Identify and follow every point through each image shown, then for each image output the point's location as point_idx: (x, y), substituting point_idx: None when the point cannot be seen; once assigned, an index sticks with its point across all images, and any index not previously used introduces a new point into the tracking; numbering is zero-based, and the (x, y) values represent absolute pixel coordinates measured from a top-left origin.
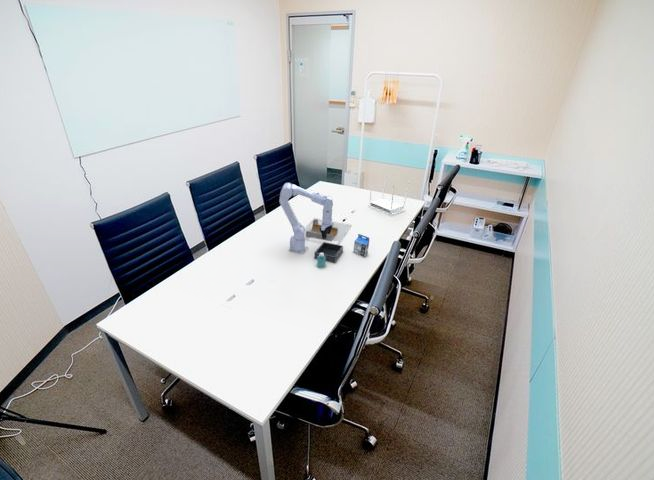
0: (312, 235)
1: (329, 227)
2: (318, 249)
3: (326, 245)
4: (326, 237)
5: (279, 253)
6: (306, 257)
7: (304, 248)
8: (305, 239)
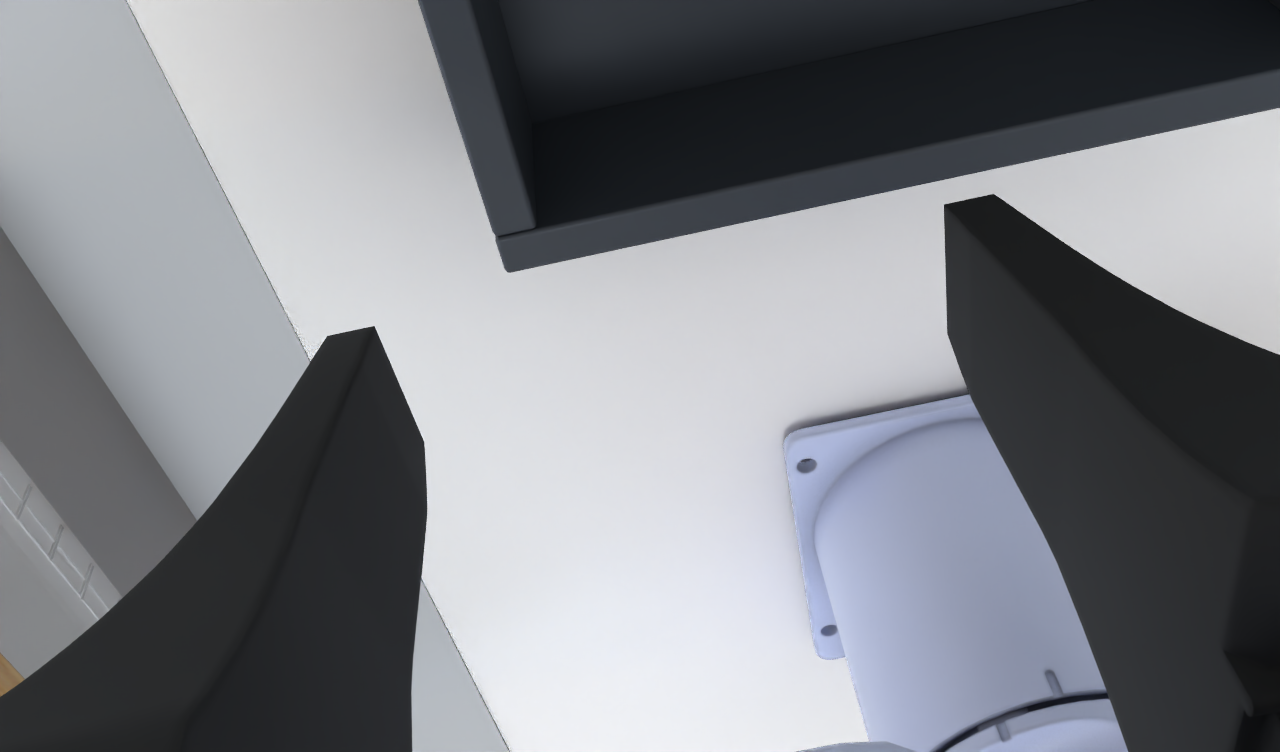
0: None
1: (330, 651)
2: (1101, 109)
3: (511, 93)
4: (29, 381)
5: None
6: (1244, 198)
7: (956, 451)
8: (440, 645)
